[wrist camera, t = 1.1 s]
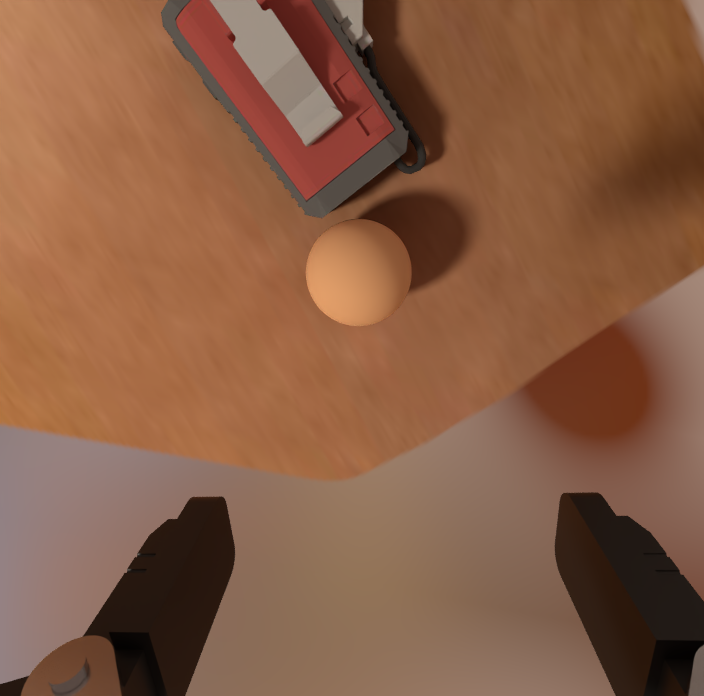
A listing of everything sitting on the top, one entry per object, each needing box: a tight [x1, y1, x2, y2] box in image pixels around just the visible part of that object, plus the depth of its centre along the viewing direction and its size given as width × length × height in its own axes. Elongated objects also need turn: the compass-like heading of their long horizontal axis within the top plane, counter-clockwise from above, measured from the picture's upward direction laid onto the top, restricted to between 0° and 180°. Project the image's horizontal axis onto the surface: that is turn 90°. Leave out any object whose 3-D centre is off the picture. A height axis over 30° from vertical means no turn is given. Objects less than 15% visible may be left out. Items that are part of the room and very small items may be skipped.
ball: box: [306, 219, 412, 326], centre depth 23 cm, size 6×6×6 cm
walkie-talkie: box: [161, 0, 426, 218], centre depth 20 cm, size 9×4×20 cm
